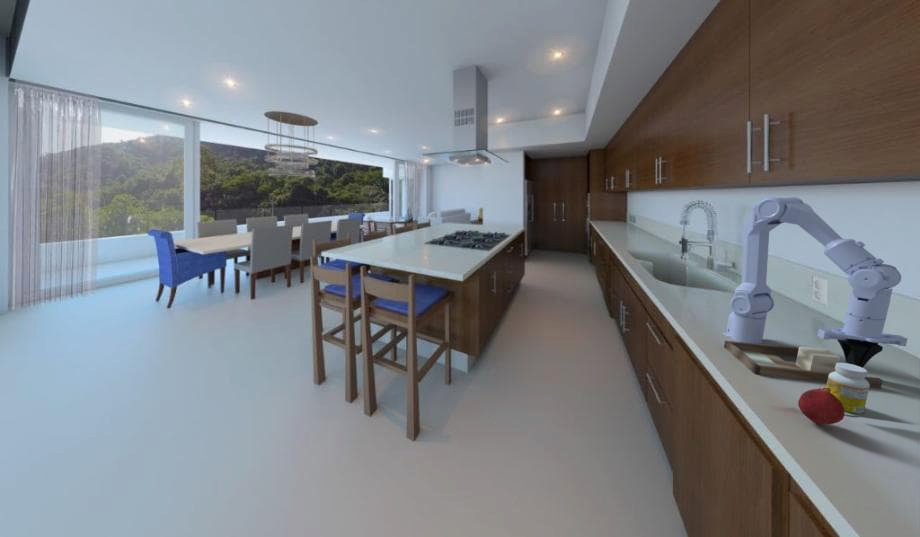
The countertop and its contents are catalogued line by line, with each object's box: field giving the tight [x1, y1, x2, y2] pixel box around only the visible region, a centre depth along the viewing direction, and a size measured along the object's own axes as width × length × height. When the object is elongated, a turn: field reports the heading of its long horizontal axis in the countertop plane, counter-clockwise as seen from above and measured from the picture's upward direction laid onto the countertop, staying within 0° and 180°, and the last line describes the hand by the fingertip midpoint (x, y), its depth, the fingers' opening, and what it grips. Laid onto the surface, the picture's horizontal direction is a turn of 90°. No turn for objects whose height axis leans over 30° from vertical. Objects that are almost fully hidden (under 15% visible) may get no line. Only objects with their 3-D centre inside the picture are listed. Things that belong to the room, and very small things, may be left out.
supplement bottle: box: [825, 362, 871, 418], centre depth 65 cm, size 5×5×10 cm
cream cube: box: [796, 346, 841, 373], centre depth 79 cm, size 5×5×5 cm
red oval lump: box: [797, 386, 845, 426], centre depth 61 cm, size 6×6×8 cm
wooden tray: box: [723, 340, 883, 389], centre depth 82 cm, size 16×23×3 cm
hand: (853, 369), depth 77 cm, fingers closed
